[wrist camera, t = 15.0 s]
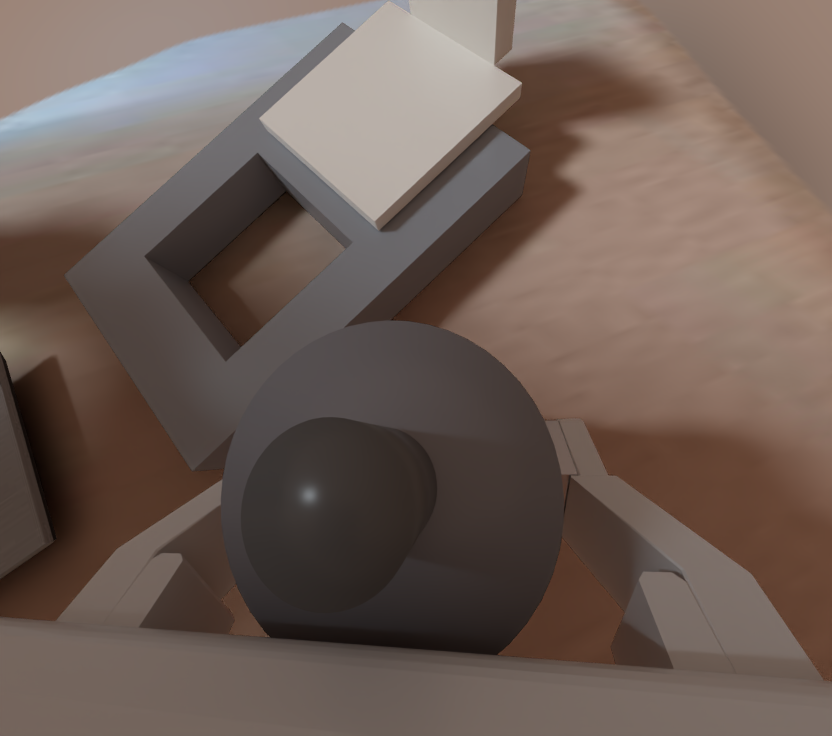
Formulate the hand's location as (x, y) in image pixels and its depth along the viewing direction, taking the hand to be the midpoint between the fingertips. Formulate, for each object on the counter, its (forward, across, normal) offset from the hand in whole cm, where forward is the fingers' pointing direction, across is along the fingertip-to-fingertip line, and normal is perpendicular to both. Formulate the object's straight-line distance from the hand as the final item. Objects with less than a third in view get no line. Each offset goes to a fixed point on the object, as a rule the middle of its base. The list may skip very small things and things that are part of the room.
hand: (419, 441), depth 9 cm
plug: (+4, 0, +5) cm, 6 cm away
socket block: (+11, +7, -3) cm, 13 cm away
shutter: (+12, +1, -8) cm, 15 cm away
